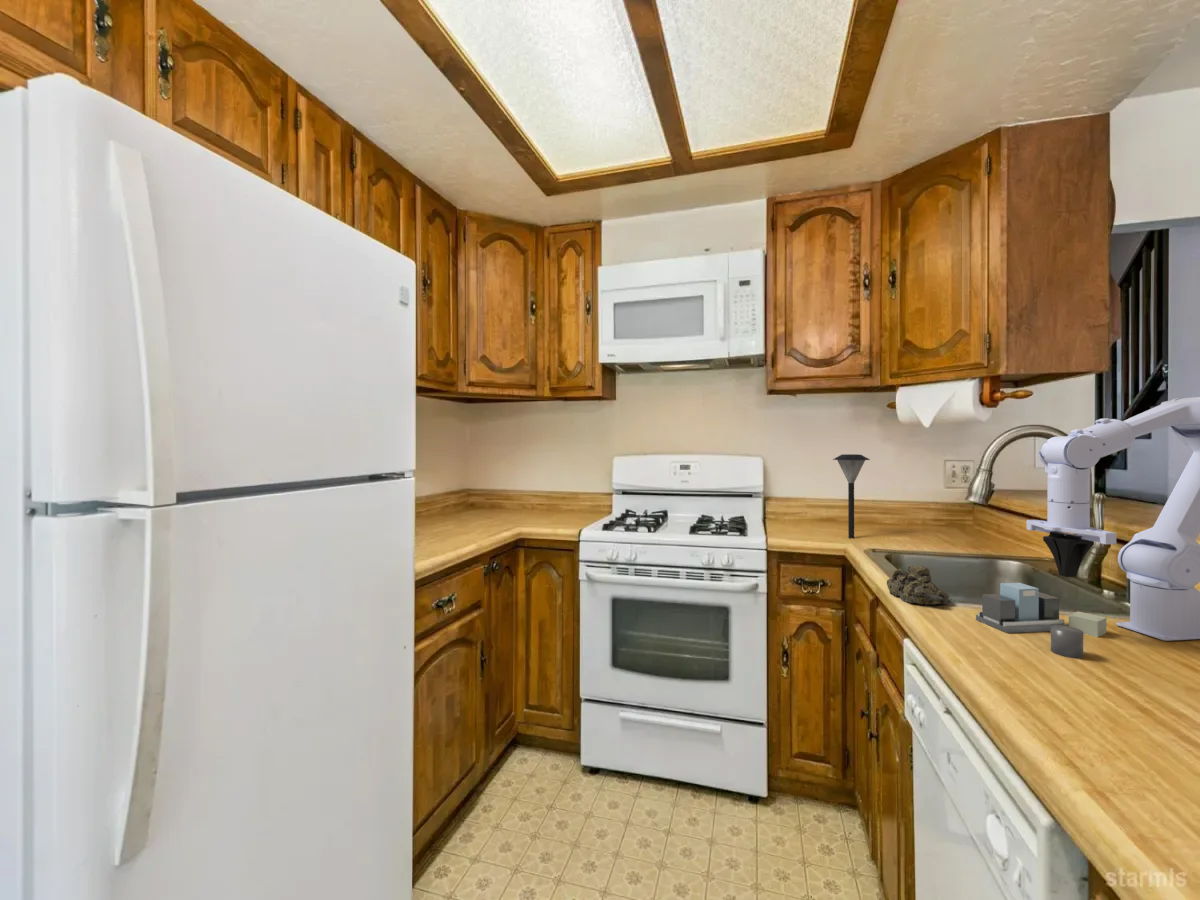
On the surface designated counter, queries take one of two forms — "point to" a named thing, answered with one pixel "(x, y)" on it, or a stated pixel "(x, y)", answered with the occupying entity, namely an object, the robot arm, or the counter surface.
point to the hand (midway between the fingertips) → (1067, 576)
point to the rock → (916, 586)
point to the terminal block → (1088, 623)
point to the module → (1022, 600)
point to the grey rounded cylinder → (1067, 641)
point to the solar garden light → (851, 482)
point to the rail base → (1002, 614)
